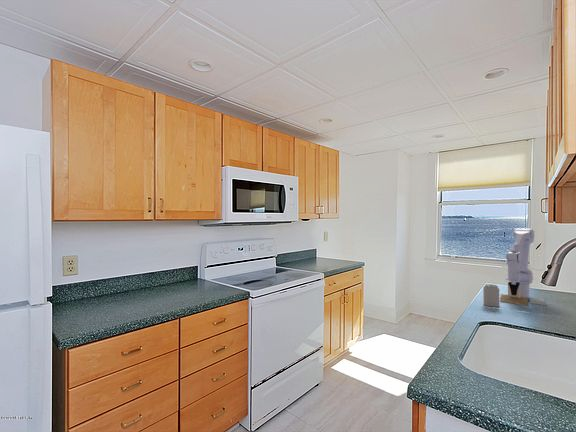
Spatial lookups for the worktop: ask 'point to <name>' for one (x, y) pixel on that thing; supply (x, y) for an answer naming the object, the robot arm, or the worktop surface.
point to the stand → (537, 301)
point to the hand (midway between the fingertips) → (514, 294)
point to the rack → (514, 300)
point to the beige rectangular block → (514, 295)
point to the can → (491, 295)
